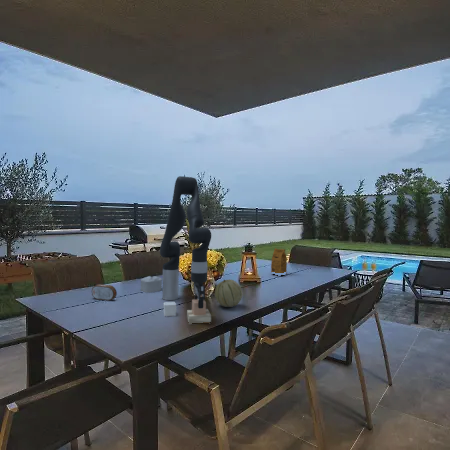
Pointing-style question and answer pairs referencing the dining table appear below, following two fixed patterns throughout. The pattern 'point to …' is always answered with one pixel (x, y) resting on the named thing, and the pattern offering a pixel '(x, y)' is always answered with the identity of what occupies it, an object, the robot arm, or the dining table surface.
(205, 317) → the gray block
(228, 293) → the cantaloupe
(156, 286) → the lumpy-topped squat cylinder
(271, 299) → the dining table surface
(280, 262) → the coffee package
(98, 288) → the tin
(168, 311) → the offwhite cube
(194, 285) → the robot arm
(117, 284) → the dining table surface
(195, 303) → the terracotta cube
